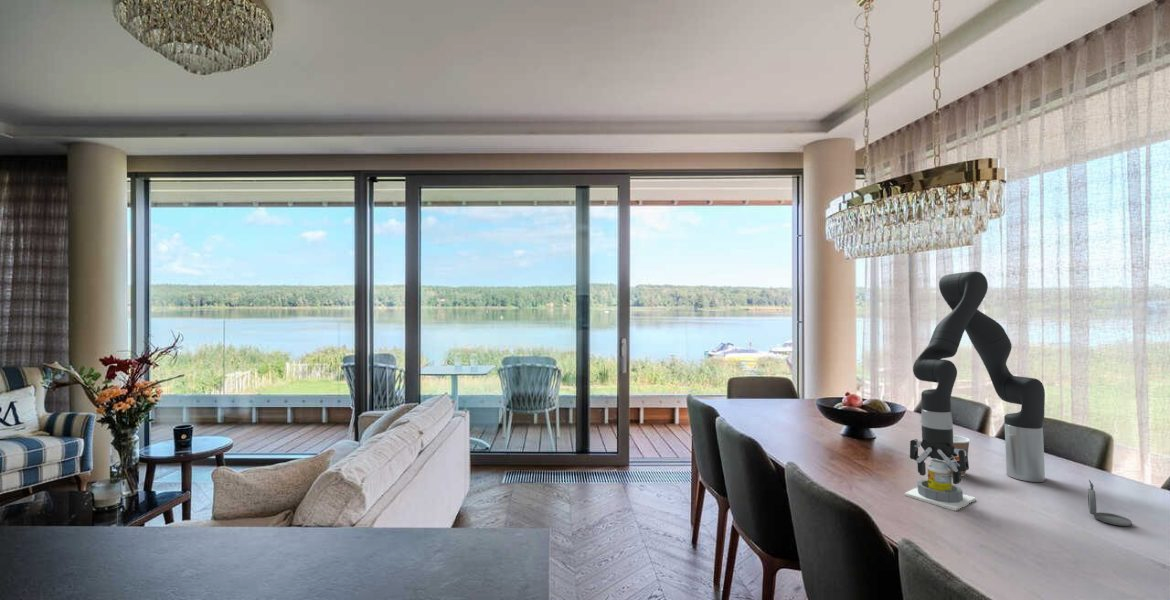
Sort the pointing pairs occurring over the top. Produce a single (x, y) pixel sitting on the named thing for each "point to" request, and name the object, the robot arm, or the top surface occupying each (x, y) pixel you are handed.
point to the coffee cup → (961, 444)
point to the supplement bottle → (939, 476)
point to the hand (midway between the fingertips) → (938, 479)
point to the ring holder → (940, 496)
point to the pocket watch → (1105, 516)
